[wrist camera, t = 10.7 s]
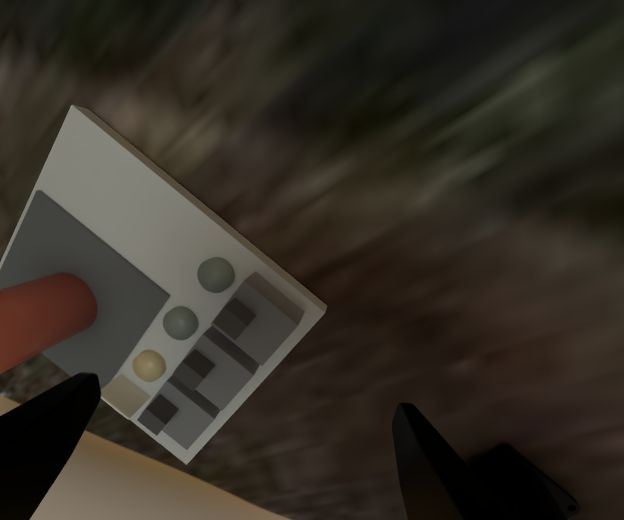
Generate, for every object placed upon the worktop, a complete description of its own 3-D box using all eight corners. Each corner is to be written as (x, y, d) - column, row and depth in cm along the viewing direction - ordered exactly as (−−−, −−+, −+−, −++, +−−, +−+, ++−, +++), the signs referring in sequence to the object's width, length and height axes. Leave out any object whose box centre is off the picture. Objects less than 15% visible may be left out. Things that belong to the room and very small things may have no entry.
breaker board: (327, 305, 20) (317, 338, 16) (194, 452, 25) (158, 508, 21) (88, 109, 20) (10, 87, 16) (0, 296, 25) (-79, 320, 20)
